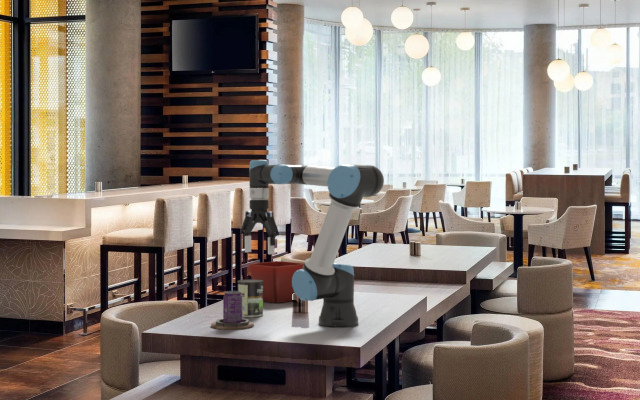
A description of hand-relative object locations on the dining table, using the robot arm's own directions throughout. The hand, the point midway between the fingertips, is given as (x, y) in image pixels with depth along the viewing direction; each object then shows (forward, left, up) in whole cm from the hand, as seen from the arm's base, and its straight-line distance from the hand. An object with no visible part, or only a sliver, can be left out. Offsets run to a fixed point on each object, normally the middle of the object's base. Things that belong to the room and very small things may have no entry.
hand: (259, 253), depth 328 cm
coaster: (-6, +18, -26) cm, 32 cm away
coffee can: (+9, -2, -26) cm, 28 cm away
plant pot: (+33, -36, -26) cm, 55 cm away
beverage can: (-6, +18, -25) cm, 32 cm away
